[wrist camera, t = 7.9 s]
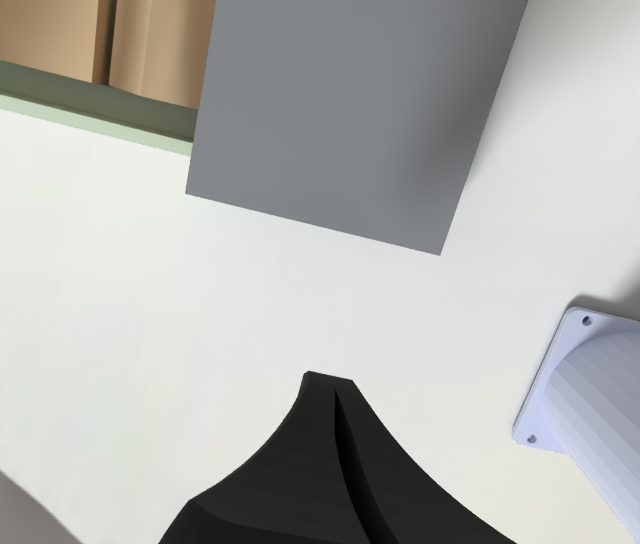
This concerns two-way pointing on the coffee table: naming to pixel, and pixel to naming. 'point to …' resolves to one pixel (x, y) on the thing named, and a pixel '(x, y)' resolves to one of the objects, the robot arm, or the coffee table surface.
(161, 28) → the oak tile
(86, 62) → the oak tile
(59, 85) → the tray
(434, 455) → the coffee table surface
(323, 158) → the grey flat block
